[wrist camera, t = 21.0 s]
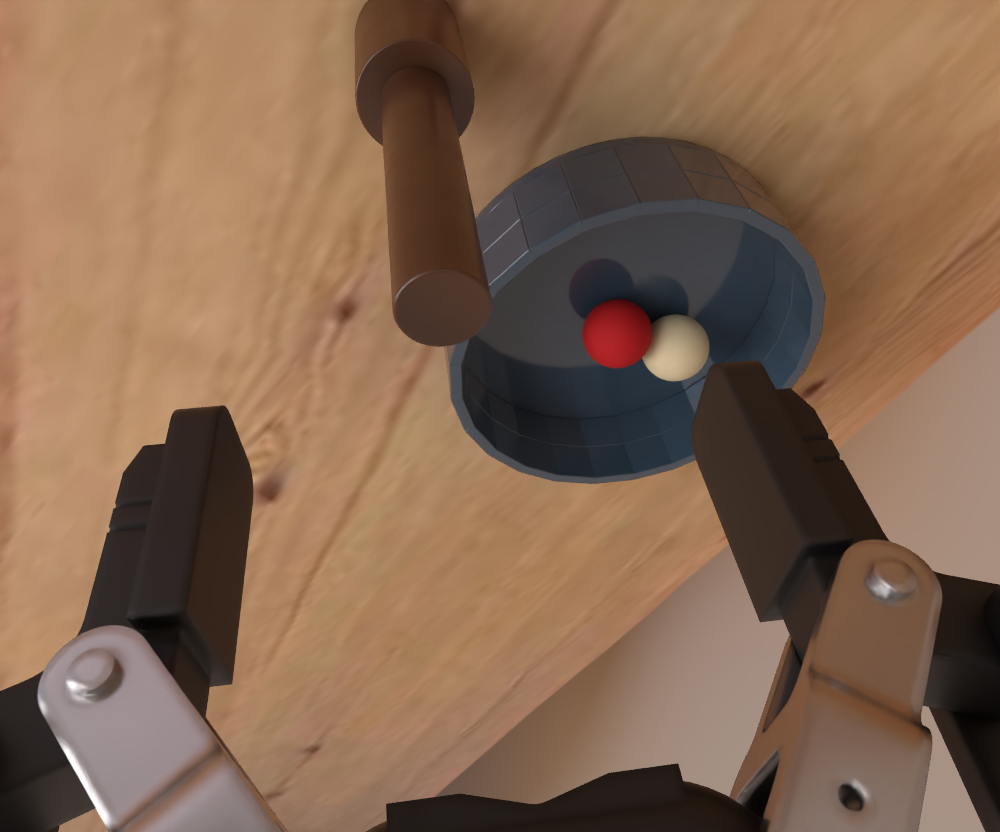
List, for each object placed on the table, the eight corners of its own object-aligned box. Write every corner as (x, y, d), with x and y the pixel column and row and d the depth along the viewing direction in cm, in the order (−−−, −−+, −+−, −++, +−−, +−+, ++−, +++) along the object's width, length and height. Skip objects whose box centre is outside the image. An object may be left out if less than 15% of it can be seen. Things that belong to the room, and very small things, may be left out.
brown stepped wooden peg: (401, -43, 23) (436, 204, 13) (480, 37, 25) (560, 301, 15) (333, 43, 24) (321, 319, 15) (412, 112, 26) (447, 394, 17)
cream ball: (683, 315, 35) (688, 292, 32) (718, 367, 34) (726, 348, 31) (628, 347, 35) (628, 327, 32) (662, 400, 34) (664, 384, 32)
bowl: (649, 48, 26) (688, 106, 23) (838, 281, 35) (885, 345, 32) (368, 318, 32) (369, 390, 29) (587, 453, 42) (606, 519, 38)
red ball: (560, 350, 32) (579, 300, 34) (607, 389, 33) (624, 338, 35) (608, 327, 30) (626, 274, 31) (657, 370, 31) (673, 317, 32)
